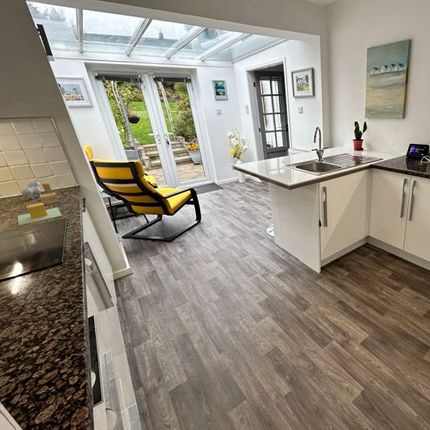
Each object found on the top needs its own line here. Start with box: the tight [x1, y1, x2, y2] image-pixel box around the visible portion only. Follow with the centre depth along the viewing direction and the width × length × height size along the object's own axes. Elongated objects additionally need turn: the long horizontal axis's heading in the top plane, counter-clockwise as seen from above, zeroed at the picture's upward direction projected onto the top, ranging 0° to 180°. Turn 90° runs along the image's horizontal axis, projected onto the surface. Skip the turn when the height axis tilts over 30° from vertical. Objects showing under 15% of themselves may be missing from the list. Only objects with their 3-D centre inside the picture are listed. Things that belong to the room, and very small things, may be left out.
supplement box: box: [40, 181, 54, 194], centre depth 171 cm, size 3×3×10 cm
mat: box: [17, 207, 63, 227], centre depth 141 cm, size 20×16×1 cm
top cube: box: [26, 202, 48, 219], centre depth 140 cm, size 6×6×6 cm
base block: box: [38, 192, 60, 206], centre depth 162 cm, size 7×7×5 cm
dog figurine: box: [21, 180, 42, 201], centre depth 173 cm, size 5×13×11 cm, turn 12°
